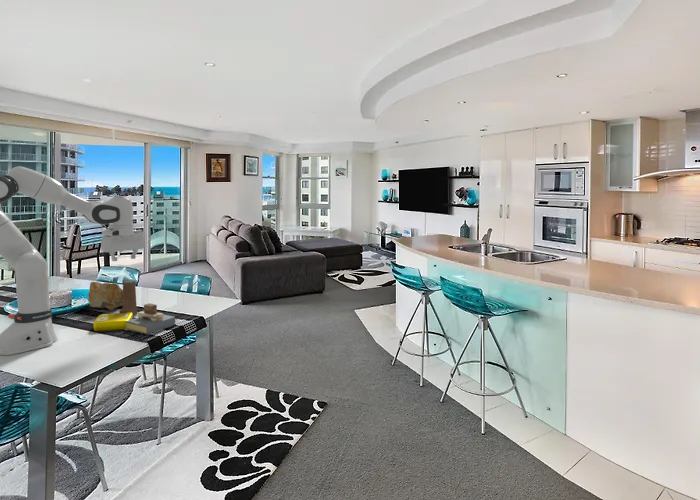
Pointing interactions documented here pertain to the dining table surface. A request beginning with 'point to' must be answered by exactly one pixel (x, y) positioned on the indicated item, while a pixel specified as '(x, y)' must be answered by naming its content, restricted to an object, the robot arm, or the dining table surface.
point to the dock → (149, 324)
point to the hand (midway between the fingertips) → (124, 259)
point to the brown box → (150, 308)
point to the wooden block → (129, 298)
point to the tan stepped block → (151, 316)
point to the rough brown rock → (105, 295)
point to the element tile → (112, 321)
